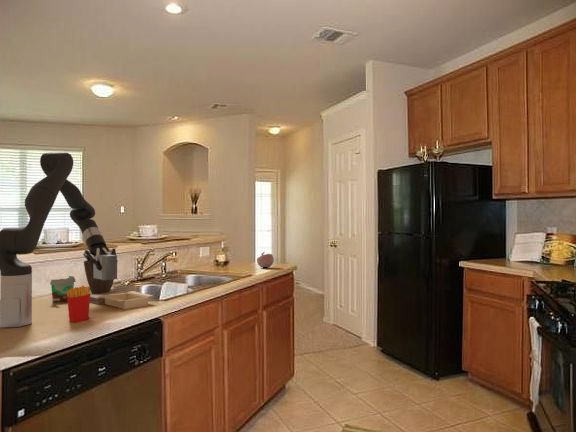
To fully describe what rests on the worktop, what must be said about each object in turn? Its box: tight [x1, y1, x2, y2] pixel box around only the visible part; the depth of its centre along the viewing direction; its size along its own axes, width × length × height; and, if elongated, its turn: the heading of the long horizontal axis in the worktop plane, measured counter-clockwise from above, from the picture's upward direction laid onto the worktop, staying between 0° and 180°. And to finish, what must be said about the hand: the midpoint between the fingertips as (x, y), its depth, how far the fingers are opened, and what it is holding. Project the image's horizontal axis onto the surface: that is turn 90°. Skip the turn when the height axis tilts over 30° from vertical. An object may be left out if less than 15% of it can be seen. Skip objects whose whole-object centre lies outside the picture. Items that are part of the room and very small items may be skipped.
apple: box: [256, 251, 275, 268], centre depth 313 cm, size 12×12×12 cm
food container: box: [49, 275, 76, 303], centre depth 194 cm, size 12×6×10 cm, turn 168°
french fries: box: [66, 285, 91, 323], centre depth 157 cm, size 8×4×12 cm, turn 153°
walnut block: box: [90, 291, 120, 305], centre depth 191 cm, size 12×12×3 cm
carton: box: [99, 290, 154, 310], centre depth 182 cm, size 15×16×4 cm
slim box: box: [92, 254, 118, 280], centre depth 191 cm, size 5×11×10 cm, turn 49°
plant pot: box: [83, 259, 119, 295], centre depth 210 cm, size 15×15×16 cm
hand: (107, 268), depth 190 cm, fingers closed on slim box, 5 cm apart
